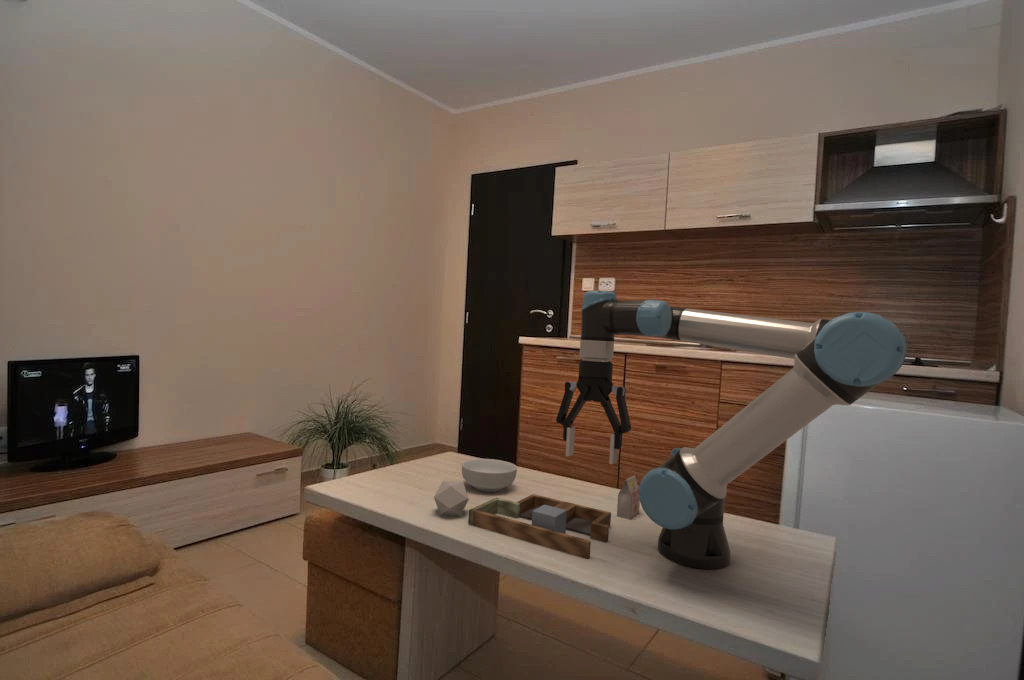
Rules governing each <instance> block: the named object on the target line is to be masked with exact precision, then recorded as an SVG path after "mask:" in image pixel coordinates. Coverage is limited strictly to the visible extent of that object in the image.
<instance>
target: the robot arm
mask: <svg viewBox="0 0 1024 680" xmlns="http://www.w3.org/2000/svg"><path fill="white" fill-rule="evenodd" d="M617 297H618V296H617V294H616V293H615V292H614V291H610V290H609V291H608V290H588V291H586V292H584V294H583V297H582V298H583V299H582V306H581V307H582V308H581V310H580V312H581V326H580V327H581V329H580V342H579V343H580V344H579V358H581V360H580V361H578V379H577V381H575V382H574V381H573V380H572V381H565V382H564V394H563V397H562V398H561V402H560V403H561V404H560V406H559V408H558V414H557V415H556V416H557V417H556V419H555V421H556V423H557V424H560V425H562V428H563V432H562V433H563V434H562V435H563V436H562V438H563V441H565V442H566V444H565V457H568V458H569V457H571V456H573V455H574V452H575V451H574V448H575V435H576V433H575V432H576V431H575V429H576V426H573V423H574V422H575V420H576V419H577V418H578V417H577V416H579V414H580V412H581V410H582V409H583V407H584V405H585V404H586V403H587V402H594V403H600V405H601V407H602V408H603V410H604V412H605V414H606V417H607V418H608V421H609V423H610V426H611V428H612V430H613V433H611V434H610V442H609V443H610V444H609V460H608V461H609V462H608V464H609V465H614V464H616V463H618V462H617V461H618V460H617V459H618V450H621V448H622V447H623V446H622V445H623V435H624V434H625V433H628V432H631V431H632V424H631V422H630V421H631V420H630V416H629V411H628V407H627V401H626V400H627V399H626V392H627V389H626V387H625V386H618V385H617V386H616V385H614V383H613V370H614V369H613V367H614V364H613V362H612V361H611V360H613V359H614V348H615V335H616V336H617V335H623V336H624V335H625V336H638V337H639V336H640V337H642V336H643V337H651V338H653V337H654V338H661V339H666V340H673V341H679V342H680V341H681V342H688V343H691V344H692V343H694V344H699V345H705V346H711V347H717V348H724V349H729V350H730V349H731V350H735V351H736V350H737V351H741V352H742V351H744V352H748V353H755V354H761V355H767V356H772V357H773V356H774V357H778V358H785V359H790V360H791V359H792V360H794V363H793V364H794V365H793V367H792V368H791V369H789V371H788V372H786V374H784V375H782V376H781V377H780V378H779V379H778V380H777V381H775V382H774V383H773V384H772V385H770V386H769V387H768V388H767V389H766V390H764V391H763V392H762V393H760V394H759V395H758V396H757V397H756V398H755V399H753V400H752V401H751V402H750V403H749V404H747V405H746V406H745V407H743V408H742V409H741V410H740V411H739V412H738V413H736V414H735V415H734V416H733V417H731V418H730V419H729V420H727V422H725V423H724V424H723V425H721V427H719V428H718V429H717V430H715V431H714V432H713V433H712V434H710V435H709V436H708V437H707V438H705V439H704V440H703V441H702V442H700V443H699V444H698V445H697V446H696V447H690V446H689V447H688V446H683V447H682V448H681V447H673V449H672V450H671V452H670V456H669V458H668V459H667V460H666V461H664V462H663V463H662V464H661V465H660V466H658V467H656V468H652V469H650V470H649V471H648V472H647V473H646V474H645V475H644V476H643V477H642V479H641V481H640V483H639V485H638V487H639V499H640V505H641V508H642V509H643V511H644V513H645V515H647V518H649V519H650V521H652V522H653V523H654V524H656V525H657V526H659V527H661V528H662V529H661V530H660V533H659V535H658V539H657V551H658V552H659V554H661V556H663V557H664V558H666V559H668V560H669V561H672V562H674V563H677V564H679V565H682V566H686V567H690V568H695V569H705V570H716V569H721V568H725V567H727V566H728V565H729V564H730V562H731V549H730V544H729V542H728V538H727V534H726V530H725V527H724V514H725V499H726V497H727V492H728V491H727V489H728V484H730V483H731V482H733V481H734V480H735V479H736V478H738V477H739V476H740V475H742V474H743V473H745V472H746V471H747V470H748V469H750V468H751V467H752V466H754V465H755V464H757V463H758V462H759V461H761V460H762V459H764V458H765V457H766V456H767V455H768V454H770V453H772V451H774V450H775V449H777V448H778V447H779V446H780V445H782V444H784V443H785V442H786V441H787V440H788V439H791V437H793V436H794V435H796V434H797V433H798V432H799V431H801V430H802V429H804V427H806V426H808V425H809V424H810V423H811V422H813V421H814V420H815V419H817V418H818V417H819V416H821V415H822V414H823V413H824V412H826V411H828V410H829V409H830V408H832V406H836V405H838V406H851V405H852V404H854V403H855V402H856V401H857V400H859V399H860V398H862V397H864V395H866V394H868V393H869V392H870V391H871V390H873V389H875V387H877V386H878V385H880V384H881V383H884V382H886V381H888V380H889V379H891V378H892V377H893V376H895V375H896V373H898V372H899V370H901V368H902V366H903V364H904V362H905V361H906V356H907V352H908V351H907V342H906V338H905V336H904V334H903V332H902V331H901V329H900V328H899V327H898V326H896V324H895V323H894V322H892V321H890V320H889V319H887V317H885V316H883V315H880V314H878V313H873V312H869V311H852V312H847V313H845V314H840V315H839V316H836V317H834V318H832V319H827V318H826V319H825V318H820V319H818V320H816V321H815V322H808V321H807V322H806V321H797V320H789V319H788V320H787V319H781V318H771V317H765V316H754V315H747V314H739V313H738V314H737V313H731V312H730V313H728V312H721V311H720V312H719V311H713V310H712V311H711V310H705V309H704V310H703V309H697V308H696V309H695V308H686V307H679V306H670V305H669V303H668V302H666V301H665V300H656V299H647V300H646V299H645V300H639V299H638V300H620V299H617ZM576 389H577V390H578V392H579V395H578V397H577V398H576V401H575V403H574V404H573V406H572V407H571V410H570V411H569V409H570V405H571V403H572V399H573V397H574V393H575V391H576ZM612 392H613V394H614V396H615V399H616V406H617V410H618V415H619V417H618V416H617V413H616V411H615V409H614V407H613V404H612V401H611V397H610V396H609V395H610V394H611V393H612Z"/></svg>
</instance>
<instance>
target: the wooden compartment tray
mask: <svg viewBox="0 0 1024 680" xmlns="http://www.w3.org/2000/svg"><path fill="white" fill-rule="evenodd" d="M543 505H548V506H552V507H556V508H560V509H564V510H567V513H566V531H571V532H573V533H577V534H582V535H585V536H589V538H590V539H593V540H597V541H600V542H605V543H608V541H609V537H610V536H609V534H610V528H611V522H612V512H610V511H607V510H602V509H597V508H594V507H589V506H585V505H581V504H578V503H577V504H576V503H574V502H573V503H572V502H567V501H564V500H560V499H555V498H551V497H547V496H542V495H538V494H534V493H532V494H530V495H528V496H527V497H526V496H525V498H522V499H520V500H518V501H511V500H508V499H503V498H501V497H500V498H499V497H495V498H492V499H490V500H488V501H486V502H483V503H482V504H479V505H477V506H475V507H472V508H470V509H469V510H468V519H467V520H468V521H467V525H469V526H472V525H473V527H476V528H480V529H483V530H486V531H490V532H493V533H497V534H500V535H504V536H507V537H509V538H510V537H511V538H514V539H518V540H521V541H524V542H527V543H531V544H535V545H538V546H542V547H545V548H547V549H548V548H549V549H551V550H554V551H555V550H556V551H559V552H562V553H566V554H569V555H572V556H576V557H579V558H583V559H587V560H588V559H590V558H591V545H592V540H589V539H587V538H582V537H578V536H575V535H571V534H567V533H565V534H564V533H560V532H556V531H553V530H549V529H545V528H542V527H538V526H534V525H532V523H531V524H530V523H526V522H523V521H518V520H514V519H518V518H522V519H524V520H529V521H532V511H533V510H535V509H537V508H539V507H541V506H543ZM497 514H499V515H497ZM500 515H503V516H500ZM505 516H506V517H505ZM508 517H511V518H508ZM512 518H514V519H512Z"/></svg>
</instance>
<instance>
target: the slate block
mask: <svg viewBox="0 0 1024 680" xmlns="http://www.w3.org/2000/svg"><path fill="white" fill-rule="evenodd" d="M566 513H567V510H564V509H560V508H556V507H552V506H548V505H543V506H541V507H539V508H537V509H535V510H533V511H532V520H531V525H534V526H538V527H542V528H545V529H549V530H553V531H556V532H560V533H564V534H566V531H567V530H566Z"/></svg>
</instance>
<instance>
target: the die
mask: <svg viewBox="0 0 1024 680" xmlns="http://www.w3.org/2000/svg"><path fill="white" fill-rule="evenodd" d="M433 498H434V501H435V504H436V507H437V510H438V514H439V516H448V517H449V516H450V517H461V516H462V514H463V513H464V510H465V508H466V506H467V504H468V502H469V496H468V494H467V490H466V486H465V482H464V481H462V480H461V481H458V480H442V481H441V483H440V485H439V487H438V489H437V491H436V492H435V494H434V496H433Z"/></svg>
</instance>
